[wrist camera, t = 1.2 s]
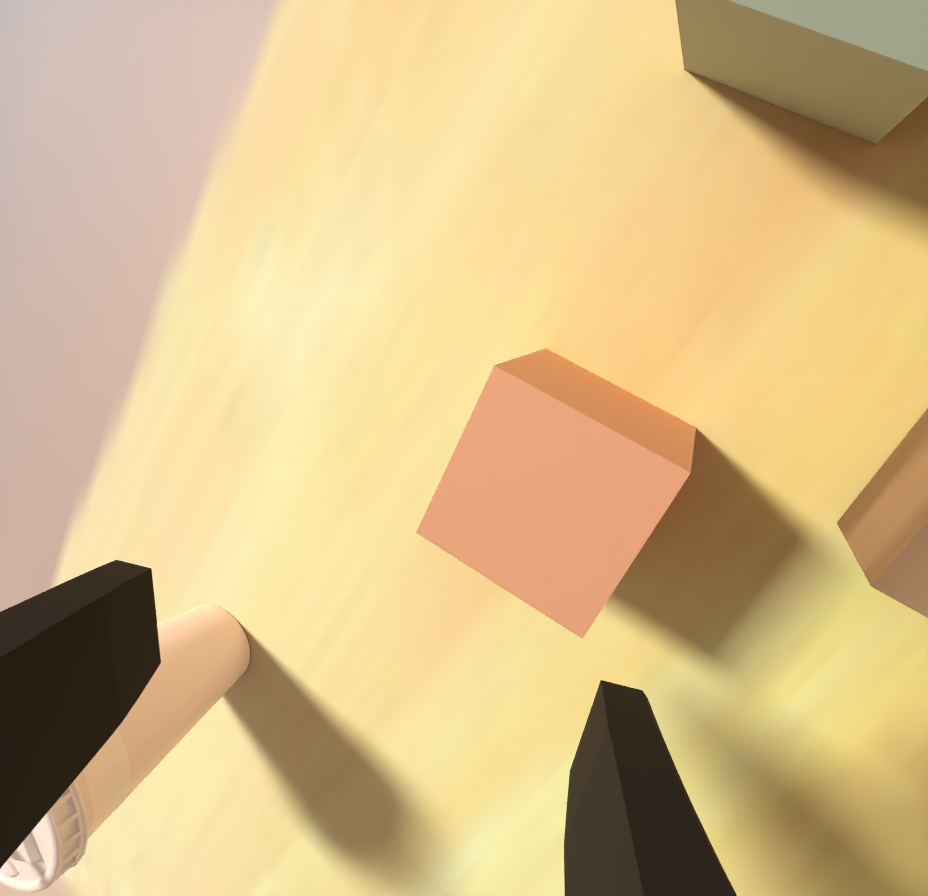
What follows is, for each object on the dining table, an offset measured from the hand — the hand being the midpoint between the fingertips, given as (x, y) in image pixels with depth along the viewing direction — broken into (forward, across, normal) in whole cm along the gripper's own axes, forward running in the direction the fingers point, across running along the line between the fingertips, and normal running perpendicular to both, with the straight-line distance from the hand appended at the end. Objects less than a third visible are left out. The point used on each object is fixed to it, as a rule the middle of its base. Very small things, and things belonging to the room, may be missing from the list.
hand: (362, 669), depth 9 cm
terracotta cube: (+11, -4, +1) cm, 11 cm away
